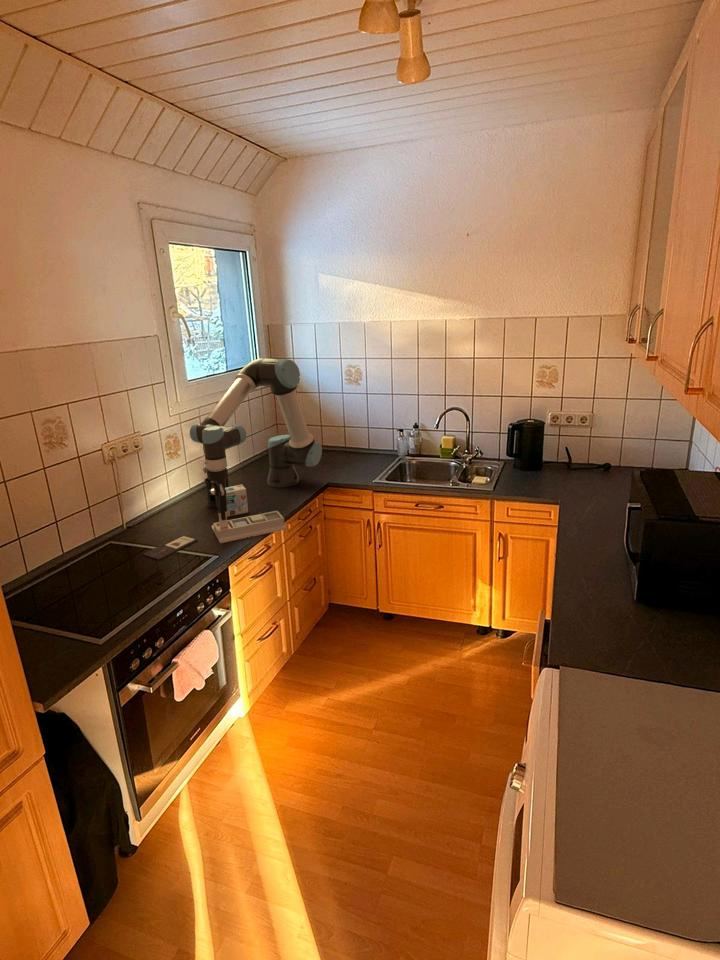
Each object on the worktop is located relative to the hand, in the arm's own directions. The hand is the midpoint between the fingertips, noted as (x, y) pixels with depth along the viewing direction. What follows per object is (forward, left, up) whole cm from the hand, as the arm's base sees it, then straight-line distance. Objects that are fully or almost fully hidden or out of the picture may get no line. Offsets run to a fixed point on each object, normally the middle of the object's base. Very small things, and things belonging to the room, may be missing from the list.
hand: (223, 526), depth 216 cm
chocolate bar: (+20, +1, -4) cm, 21 cm away
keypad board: (-10, -2, -4) cm, 11 cm away
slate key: (-7, 0, -2) cm, 7 cm away
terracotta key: (0, 0, -2) cm, 2 cm away
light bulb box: (-9, -22, -4) cm, 24 cm away
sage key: (-13, 0, -1) cm, 13 cm away
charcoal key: (-20, 0, -2) cm, 20 cm away
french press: (-5, -35, -4) cm, 35 cm away
